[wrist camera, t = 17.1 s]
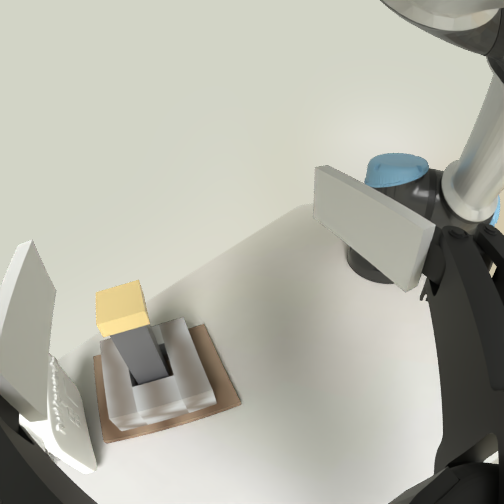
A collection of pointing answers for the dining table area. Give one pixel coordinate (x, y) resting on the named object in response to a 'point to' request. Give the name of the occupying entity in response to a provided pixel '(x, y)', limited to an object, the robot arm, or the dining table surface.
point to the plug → (131, 331)
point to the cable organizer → (63, 422)
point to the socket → (162, 385)
